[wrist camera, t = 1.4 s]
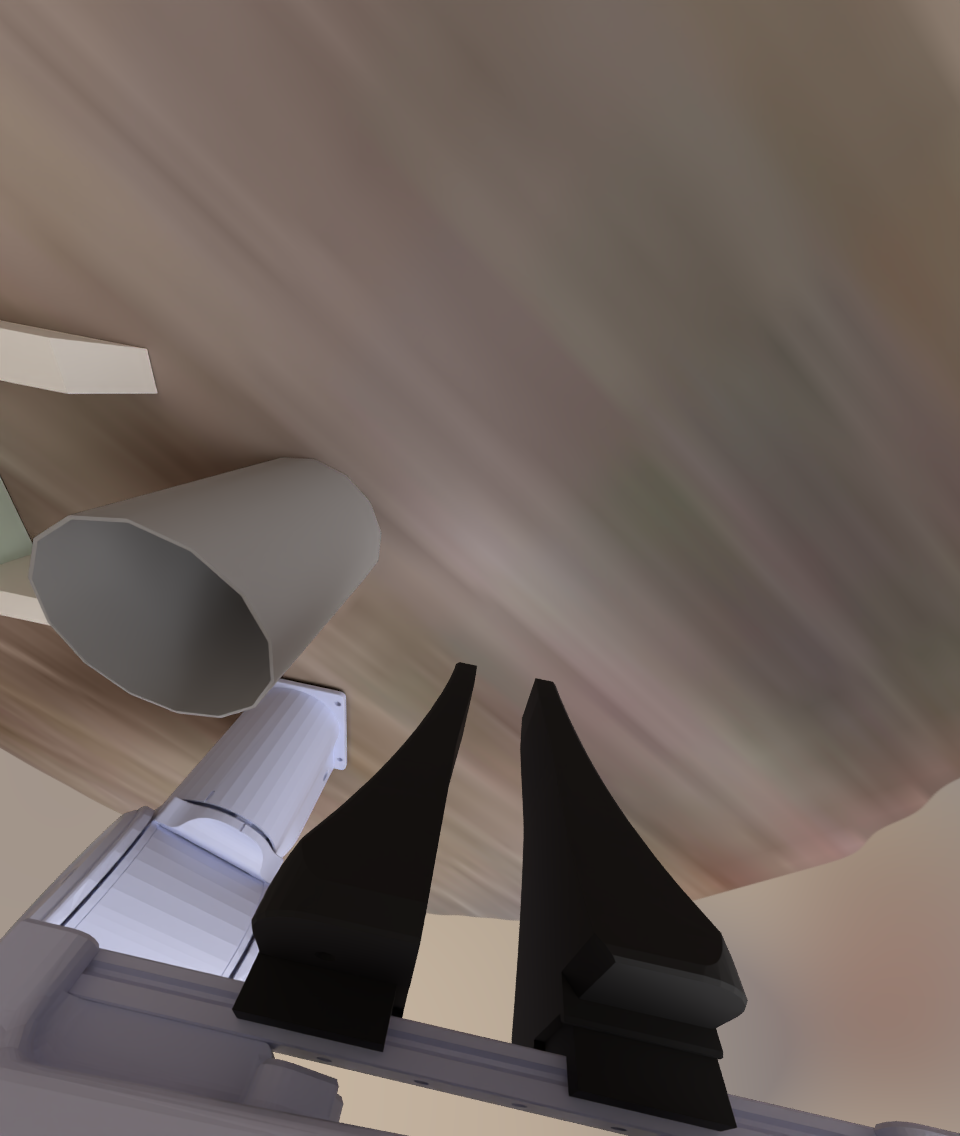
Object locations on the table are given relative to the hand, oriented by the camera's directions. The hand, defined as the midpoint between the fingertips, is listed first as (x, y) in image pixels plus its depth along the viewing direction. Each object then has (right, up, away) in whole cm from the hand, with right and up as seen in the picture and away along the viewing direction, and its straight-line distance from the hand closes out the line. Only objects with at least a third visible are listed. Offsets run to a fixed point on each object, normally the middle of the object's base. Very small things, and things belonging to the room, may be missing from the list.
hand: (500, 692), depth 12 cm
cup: (-11, +7, +9) cm, 15 cm away
